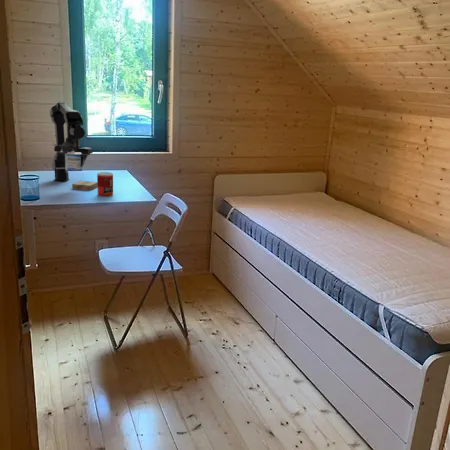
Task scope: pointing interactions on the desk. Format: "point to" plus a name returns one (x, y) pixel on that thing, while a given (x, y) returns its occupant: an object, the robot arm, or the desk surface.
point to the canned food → (105, 183)
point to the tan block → (84, 185)
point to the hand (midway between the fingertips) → (73, 166)
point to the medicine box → (73, 162)
